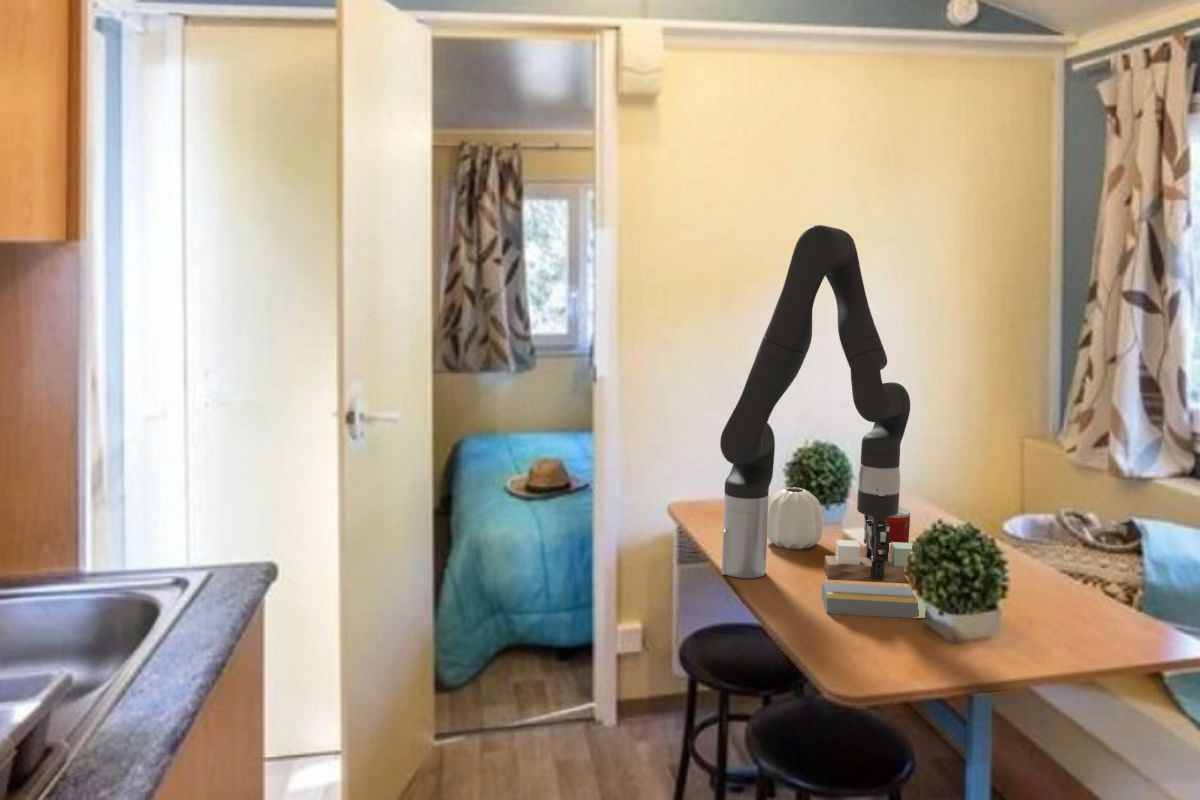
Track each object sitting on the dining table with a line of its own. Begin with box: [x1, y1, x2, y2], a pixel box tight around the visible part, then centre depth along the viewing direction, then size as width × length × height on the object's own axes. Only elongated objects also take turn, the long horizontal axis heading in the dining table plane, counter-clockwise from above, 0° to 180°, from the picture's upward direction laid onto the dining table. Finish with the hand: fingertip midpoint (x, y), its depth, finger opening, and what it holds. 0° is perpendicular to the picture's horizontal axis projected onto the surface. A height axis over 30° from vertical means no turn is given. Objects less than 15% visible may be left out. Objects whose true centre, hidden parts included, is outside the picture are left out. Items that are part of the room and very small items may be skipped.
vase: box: [767, 486, 824, 550], centre depth 211 cm, size 14×14×13 cm
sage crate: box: [890, 542, 914, 567], centre depth 170 cm, size 4×4×4 cm
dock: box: [821, 581, 919, 619], centre depth 171 cm, size 18×9×4 cm, turn 82°
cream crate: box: [834, 539, 861, 565], centre depth 171 cm, size 4×4×4 cm
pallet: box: [824, 555, 910, 585], centre depth 171 cm, size 18×6×3 cm, turn 83°
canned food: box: [886, 507, 911, 543], centre depth 202 cm, size 8×8×11 cm
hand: (874, 574), depth 171 cm, fingers closed on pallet, 5 cm apart
